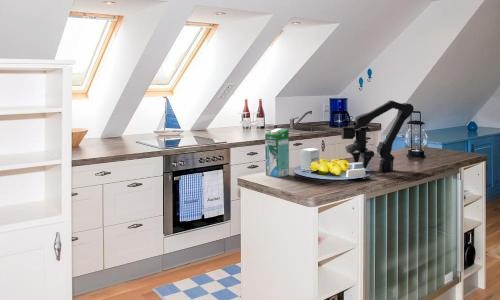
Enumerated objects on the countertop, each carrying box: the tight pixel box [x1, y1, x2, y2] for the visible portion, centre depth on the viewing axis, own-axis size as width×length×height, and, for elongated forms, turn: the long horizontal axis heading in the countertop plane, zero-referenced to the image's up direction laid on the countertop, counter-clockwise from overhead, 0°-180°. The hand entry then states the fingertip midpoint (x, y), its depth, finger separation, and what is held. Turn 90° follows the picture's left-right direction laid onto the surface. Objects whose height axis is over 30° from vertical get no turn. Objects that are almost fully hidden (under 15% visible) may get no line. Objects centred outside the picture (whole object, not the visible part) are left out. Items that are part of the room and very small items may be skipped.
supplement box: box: [300, 147, 320, 170], centre depth 268 cm, size 7×7×13 cm
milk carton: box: [264, 127, 290, 178], centre depth 260 cm, size 9×9×25 cm
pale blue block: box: [349, 161, 371, 171], centre depth 265 cm, size 10×4×5 cm, turn 109°
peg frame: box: [344, 163, 366, 180], centre depth 255 cm, size 15×10×5 cm, turn 17°
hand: (360, 166), depth 265 cm, fingers open, 9 cm apart
